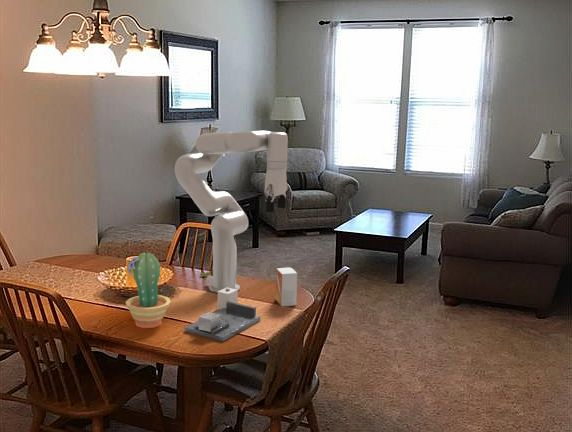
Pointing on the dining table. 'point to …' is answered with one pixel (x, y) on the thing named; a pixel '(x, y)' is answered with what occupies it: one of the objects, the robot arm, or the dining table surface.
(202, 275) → the lily flower
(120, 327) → the dining table surface
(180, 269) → the dining table surface
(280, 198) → the robot arm
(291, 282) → the small box
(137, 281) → the potted cactus
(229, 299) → the block
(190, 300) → the dining table surface
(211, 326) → the block
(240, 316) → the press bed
